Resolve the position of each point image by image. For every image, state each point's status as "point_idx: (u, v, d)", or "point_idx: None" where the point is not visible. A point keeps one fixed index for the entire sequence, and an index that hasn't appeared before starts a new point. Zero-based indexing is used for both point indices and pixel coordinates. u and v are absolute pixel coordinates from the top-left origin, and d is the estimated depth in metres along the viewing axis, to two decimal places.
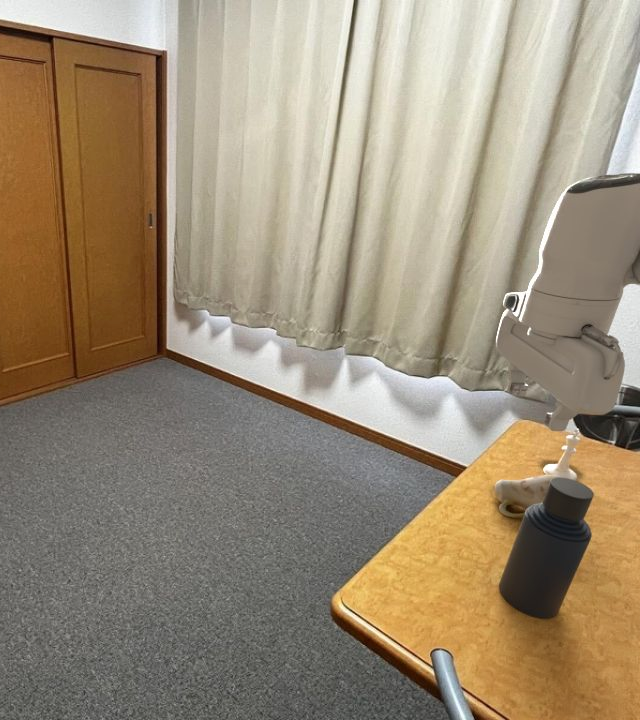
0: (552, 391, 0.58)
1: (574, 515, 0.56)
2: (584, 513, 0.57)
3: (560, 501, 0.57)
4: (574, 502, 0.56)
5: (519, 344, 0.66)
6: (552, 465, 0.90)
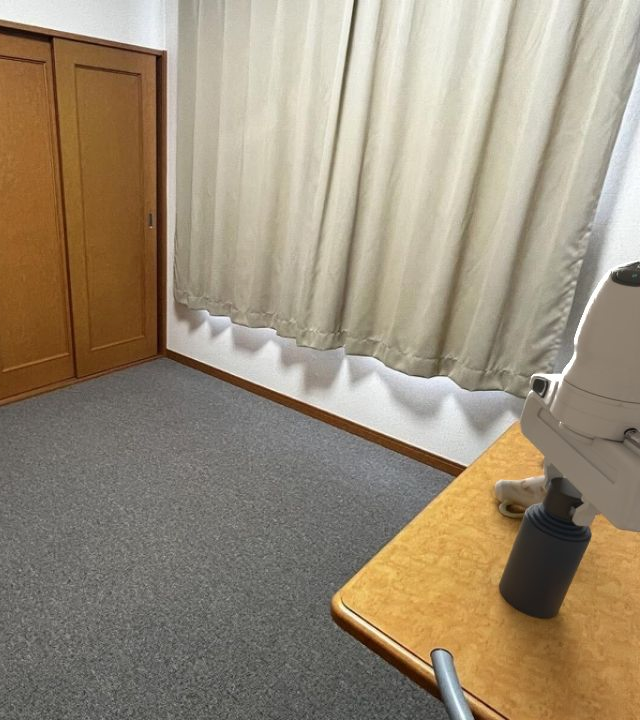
0: (590, 497, 0.52)
1: None
2: None
3: (560, 501, 0.57)
4: (574, 502, 0.56)
5: (547, 431, 0.59)
6: None
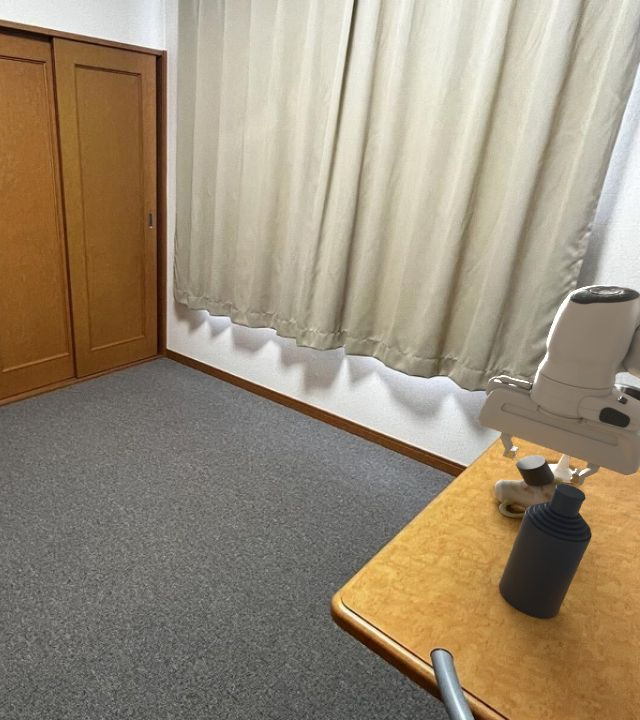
0: None
1: None
2: (523, 478, 0.78)
3: None
4: None
5: None
6: (552, 465, 0.90)
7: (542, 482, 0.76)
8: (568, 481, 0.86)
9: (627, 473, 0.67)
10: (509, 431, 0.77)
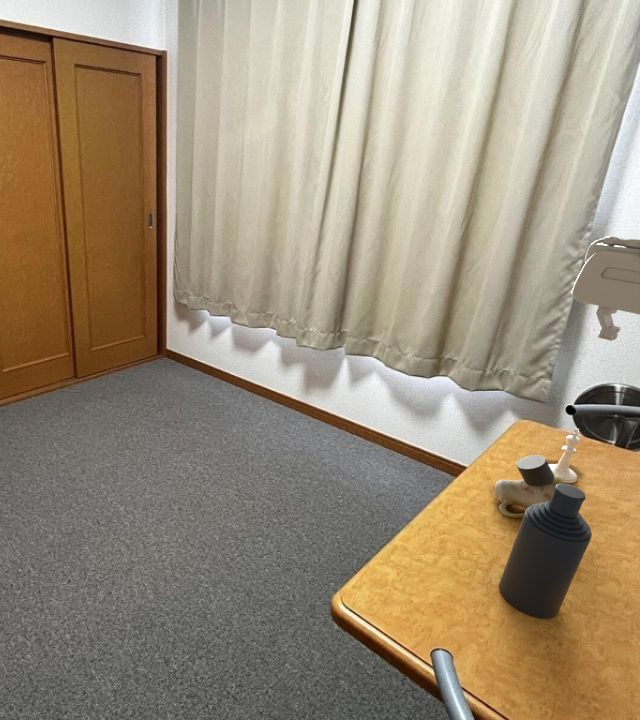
0: None
1: None
2: (523, 478, 0.78)
3: None
4: None
5: None
6: (552, 465, 0.90)
7: (542, 481, 0.76)
8: (568, 481, 0.86)
9: None
10: (609, 302, 0.65)
